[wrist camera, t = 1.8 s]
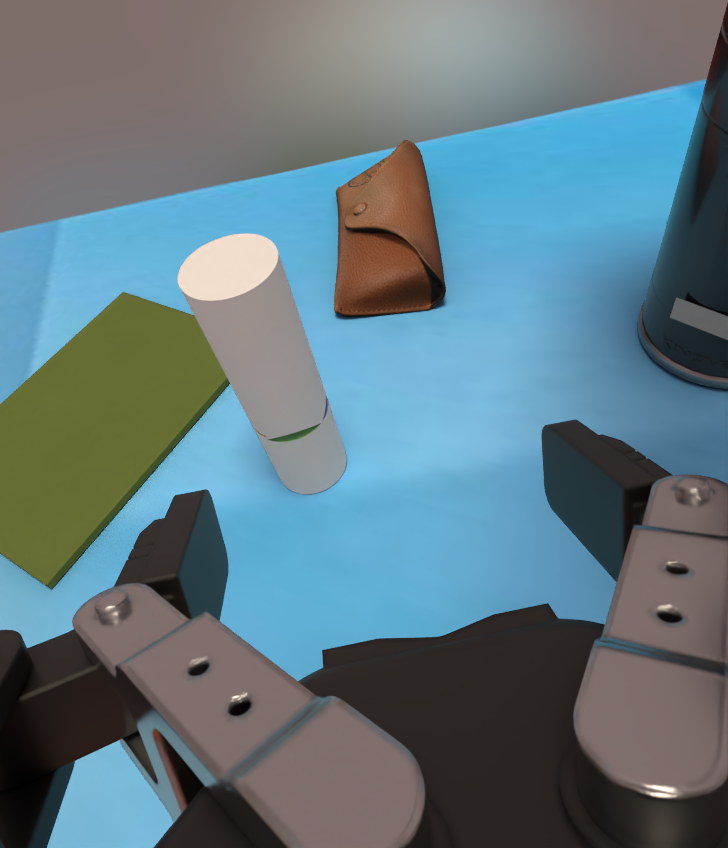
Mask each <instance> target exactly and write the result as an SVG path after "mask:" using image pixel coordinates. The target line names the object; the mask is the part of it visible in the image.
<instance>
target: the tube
mask: <svg viewBox="0 0 728 848" xmlns="http://www.w3.org/2000/svg"><path fill="white" fill-rule="evenodd" d="M178 283H179V287H180V289H181V291H182V293H183V294H184V296H185V298H186V300H187V302H188V304H189V306H190V308H191V310H192V312H193V314H194V315H195V317H196V319H197V321H198V323H199V325H200V327H201V329H202V331H203V333H204V335H205V336H206V338H207V340H208V342H209V344H210V346H211V348H212V350H213V352H214V354H215V356H216V357H217V359H218V361H219V363H220V365H221V367H222V369H223V371H224V373H225V375H226V377H227V378H228V380H229V382H230V384H231V386H232V388H233V390H234V392H235V394H236V396H237V398H238V399H239V401H240V403H241V405H242V407H243V409H244V411H245V413H246V415H247V417H248V419H249V420H250V422H251V424H252V426H253V428H254V430H255V432H256V434H257V436H258V438H259V440H260V441H261V443H262V445H263V447H264V449H265V451H266V453H267V455H268V457H269V459H270V460H271V462H272V464H273V466H274V468H275V470H276V472H277V474H278V476H279V478H280V480H281V481H282V483H283V484H284V485H285V486H286V487H287V488H288V489H290V490H291V491H293V492H296V493H299V494H315V493H319V492H322V491H324V490H327V489H328V488H330V487H331V486H333V485H334V484H335V483H336V482H337V481H338V480H339V479H340V478H341V476H342V475H343V473H344V471H345V468H346V462H347V458H346V453H345V450H344V447H343V444H342V441H341V438H340V435H339V432H338V429H337V426H336V423H335V420H334V417H333V414H332V411H331V408H330V405H329V402H328V399H327V397H326V394H325V390H324V387H323V384H322V381H321V378H320V375H319V372H318V369H317V366H316V363H315V360H314V357H313V354H312V351H311V348H310V345H309V342H308V339H307V336H306V333H305V330H304V328H303V325H302V322H301V319H300V316H299V313H298V310H297V307H296V304H295V301H294V298H293V295H292V292H291V289H290V286H289V283H288V280H287V277H286V274H285V271H284V268H283V265H282V262H281V259H280V256H279V253H278V250H277V248H276V246H275V244H274V243H273V242H272V241H271V240H269V239H267V238H265V237H263V236H260V235H255V234H235V235H229V236H225V237H222V238H219V239H216V240H213V241H211V242H209V243H207V244H205V245H203V246H202V247H200V248H199V249H197V250H196V251H195V252H193V253H192V254H191V255H190V256H189V257H188V258H187V259H186V260H185V262H184V263H183V265H182V266H181V268H180V271H179V273H178Z"/></svg>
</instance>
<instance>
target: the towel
mask: <svg viewBox="0 0 728 848" xmlns="http://www.w3.org/2000/svg"><path fill="white" fill-rule="evenodd" d="M229 383H230V382H229V380H228V378H227V377H226V375H225V373H224V371H223V369H222V367H221V365H220V363H219V361H218V359H217V357H216V356H215V354H214V352H213V350H212V348H211V346H210V344H209V342H208V340H207V338H206V336H205V335H204V333H203V331H202V329H201V327H200V325H199V323H198V321H197V319H196V317H195V316H194V315H191V314H188V313H185V312H182V311H179V310H176V309H173V308H170V307H167V306H164V305H161V304H158V303H155V302H152V301H149V300H146V299H143V298H140V297H137V296H134V295H131V294H128V293H125V292H123V293H122V294H120V295H119V296H118V297H117V298H116V299H115V300H114V301H113V302H112V303H111V304H110V305H108V306H107V307H106V308H105V309H104V310H103V311H102V312H101V313H100V314H99V315H97V316H96V317H95V318H94V319H93V320H92V321H91V322H90V323H89V324H88V325H87V326H85V327H84V328H83V329H82V330H81V331H80V332H79V333H78V334H77V335H76V336H75V337H73V338H72V339H71V340H70V341H69V342H68V343H67V344H66V345H65V346H64V347H63V348H61V349H60V350H59V351H58V352H57V353H56V354H55V355H54V356H53V357H52V358H51V359H49V360H48V361H47V362H46V363H45V364H44V365H43V366H42V367H41V368H40V369H38V370H37V371H36V372H35V373H34V374H33V375H32V376H31V377H30V378H29V379H28V380H26V381H25V382H24V383H23V384H22V385H21V386H20V387H19V388H18V389H17V390H16V391H14V392H13V393H12V394H11V395H10V396H9V397H8V398H7V399H6V400H5V401H4V402H2V403H1V404H0V553H1V554H2V555H3V556H5V557H6V558H8V559H9V560H11V561H12V562H13V563H15V564H16V565H18V566H19V567H20V568H22V569H23V570H25V571H26V572H28V573H29V574H30V575H32V576H33V577H35V578H36V579H38V580H39V581H40V582H42V583H43V584H45V585H46V586H48V587H49V588H51V589H52V588H53V587H54V586H55V585H56V584H57V582H58V581H59V580H60V579H61V578H62V577H63V575H64V574H65V573H66V572H67V571H68V570H69V568H70V567H71V566H72V565H73V564H74V563H75V562H76V560H77V559H78V558H79V557H80V556H81V555H82V553H83V552H84V551H85V550H86V549H87V548H88V547H89V545H90V544H91V543H92V542H93V541H94V540H95V538H96V537H97V536H98V535H99V534H100V533H101V531H102V530H103V529H104V528H105V527H106V526H107V525H108V523H109V522H110V521H111V520H112V519H113V518H114V516H115V515H116V514H117V513H118V512H119V511H120V510H121V508H122V507H123V506H124V505H125V504H126V503H127V501H128V500H129V499H130V498H131V497H132V496H133V494H134V493H135V492H136V491H137V490H138V489H139V488H140V486H141V485H142V484H143V483H144V482H145V481H146V479H147V478H148V477H149V476H150V475H151V474H152V472H153V471H154V470H155V469H156V468H157V467H158V466H159V464H160V463H161V462H162V461H163V460H164V459H165V457H166V456H167V455H168V454H169V453H170V452H171V451H172V449H173V448H174V447H175V446H176V445H177V444H178V442H179V441H180V440H181V439H182V438H183V437H184V435H185V434H186V433H187V432H188V431H189V430H190V429H191V427H192V426H193V425H194V424H195V423H196V422H197V420H198V419H199V418H200V417H201V416H202V415H203V414H204V412H205V411H206V410H207V409H208V408H209V407H210V405H211V404H212V403H213V402H214V401H215V400H216V398H217V397H218V396H219V395H220V394H221V393H222V392H223V390H224V389H225V388H226V387H227V386H228V385H229Z"/></svg>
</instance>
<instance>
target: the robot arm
mask: <svg viewBox="0 0 728 848" xmlns="http://www.w3.org/2000/svg"><path fill="white" fill-rule="evenodd" d="M638 335H639V338H640V341H641V343H642V345H643V347H644V349H645V350H646V352H647V353H648V354H649V355H650V356H651V357H652V358H653V360H655V361H656V362H657V363H658V364H659V365H660V366H662V367H663V368H665V369H666V370H668V371H669V372H671V373H673V374H675V375H677V376H678V377H681V378H683V379H685V380H688V381H691V382H693V383H697V384H700V385H704V386H708V387H714V388H720V389H728V4H727V8H726V12H725V15H724V18H723V22H722V27H721V30H720V33H719V37H718V40H717V44H716V48H715V51H714V55H713V59H712V62H711V66H710V70H709V73H708V77H707V80H706V84H705V87H704V91H703V96H702V99H701V103H700V107H699V110H698V114H697V117H696V121H695V125H694V128H693V132H692V135H691V139H690V143H689V146H688V150H687V153H686V157H685V161H684V164H683V168H682V171H681V175H680V179H679V182H678V186H677V189H676V193H675V197H674V200H673V204H672V207H671V211H670V215H669V218H668V222H667V225H666V229H665V233H664V236H663V240H662V243H661V247H660V251H659V254H658V258H657V261H656V265H655V268H654V271H653V275H652V278H651V282H650V286H649V289H648V293H647V296H646V300H645V301H644V303H643V305H642V308H641V312H640V315H639V319H638ZM542 452H543V470H544V487H545V493H546V496H547V500H548V502H549V505H550V507H551V508H552V510H553V511H554V512H555V513H556V515H557V516H558V517H559V518H560V519H561V520H562V521H563V522H564V524H565V525H566V526H567V527H568V528H569V529H570V530H571V531H572V533H573V534H574V535H575V536H576V537H577V538H578V539H579V540H580V542H581V543H582V544H583V545H584V546H585V547H586V548H587V549H588V551H589V552H590V553H591V554H592V555H593V556H594V557H595V558H596V560H597V561H598V562H599V563H600V564H601V565H602V566H603V567H604V569H605V570H606V571H607V572H608V573H609V574H610V575H611V576H612V578H613V579H614V580H615V581H616V582H617V584H616V588H615V591H614V595H613V598H612V602H611V605H610V609H609V612H608V616H607V619H606V623H605V625H604V624H600V623H596V622H590V621H584V620H574V619H558V618H557V616H556V615H555V613H554V612H553V610H552V609H551V607H550V606H549V604H548V603H547V604H543V605H538V606H533V607H528V608H523V609H518V610H514V611H509V612H504V613H499V614H494V615H492V616H489V617H487V618H484V619H482V620H480V621H477V622H475V623H473V624H470V625H468V626H465V627H463V628H461V629H458V630H456V631H454V632H451V633H449V634H446V635H444V636H440V637H426V638H383V639H374V640H370V641H365V642H360V643H355V644H350V645H346V646H341V647H336V648H331V649H326V650H322V653H323V668H322V669H320V670H318V671H315V672H313V673H312V674H310V675H308V676H306V677H304V678H302V679H301V680H299V681H296V680H295V679H294V678H293V677H291V676H290V675H289V674H287V673H286V672H285V671H283V670H282V669H281V668H280V667H278V666H277V665H276V664H274V663H273V662H272V661H270V660H269V659H268V658H267V657H265V656H264V655H263V654H261V653H260V652H259V651H257V650H256V649H255V648H254V647H252V646H251V645H250V644H248V643H247V642H246V641H244V640H243V639H242V638H241V637H239V636H238V635H237V634H235V633H234V632H233V631H231V630H230V629H229V628H228V627H226V626H225V625H224V624H222V623H221V622H220V616H221V610H222V605H223V599H224V594H225V588H226V583H227V577H228V558H227V552H226V548H225V544H224V540H223V537H222V533H221V529H220V526H219V522H218V518H217V515H216V511H215V508H214V504H213V501H212V497H211V495H210V493H209V491H208V490H201V491H196V492H191V493H185V494H180V495H175V496H174V498H173V500H172V502H171V504H170V507H169V509H168V511H167V514H166V516H165V518H163V519H158V520H154V521H153V522H152V523H151V524H150V525H149V526H148V527H146V528H145V529H144V530H143V531H142V532H141V533H140V534H139V536H138V538H137V540H136V542H135V545H134V549H132V551H131V553H130V555H129V557H128V559H129V560H127V561H126V563H125V565H124V567H123V569H122V571H121V573H120V575H119V577H118V579H117V581H116V584H115V586H114V587H113V588H110V589H107V590H105V591H103V592H101V593H99V594H97V595H96V596H94V597H92V598H91V599H89V600H88V601H87V602H86V603H84V604H83V605H82V606H81V607H80V608H79V609H78V611H77V612H76V613H75V615H74V617H73V621H72V623H73V627H74V630H72V631H70V632H68V633H65V634H63V635H61V636H58V637H55V638H53V639H50V640H48V641H45V642H43V643H40V644H37V645H35V646H32V647H30V648H26V645H25V643H24V641H23V639H22V636H21V635H20V634H19V633H18V632H16V631H13V630H0V848H47V845H48V842H49V839H50V836H51V833H52V830H53V827H54V824H55V821H56V818H57V815H58V812H59V809H60V806H61V803H62V800H63V797H64V795H65V792H66V789H67V786H68V783H69V780H70V777H71V774H72V771H73V767H74V763H75V760H77V759H80V758H82V757H84V756H86V755H88V754H90V753H92V752H94V751H97V750H99V749H101V748H103V747H105V746H107V745H109V744H112V743H114V742H116V741H118V740H119V741H120V744H121V746H122V747H123V749H124V750H125V752H126V753H127V754H128V756H129V757H130V759H131V760H132V761H133V763H134V764H135V766H136V767H137V768H138V770H139V771H140V772H141V774H142V775H143V777H144V778H145V779H146V781H147V782H148V784H149V785H150V786H151V788H152V789H153V791H154V792H155V793H156V795H157V796H158V798H159V799H160V800H161V802H162V803H163V805H164V806H165V808H166V809H167V811H168V813H169V815H170V816H171V818H172V820H173V822H174V823H173V824H172V826H171V827H170V828H169V829H168V831H167V832H166V833H165V834H164V836H163V837H162V838H161V839H160V840H159V842H158V843H157V844H156V845H155V847H154V848H728V485H727V484H726V483H724V482H722V481H720V480H717V479H714V478H710V477H706V476H700V475H672V474H670V473H669V472H667V471H666V470H664V469H663V468H661V467H660V466H658V465H657V464H656V463H654V462H653V461H651V460H650V459H646V457H645V456H644V455H642V454H641V453H639V452H638V451H637V452H635V449H633V448H632V447H630V446H629V445H627V444H626V443H624V442H623V441H621V440H618V439H615V438H612V437H608V436H605V435H597V434H596V433H595V432H593V431H592V430H590V429H589V428H588V427H586V426H585V425H583V424H582V423H581V422H579V421H578V420H571V421H565V422H560V423H555V424H550V425H545V426H544V427H543V430H542Z"/></svg>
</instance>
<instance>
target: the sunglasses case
mask: <svg viewBox="0 0 728 848" xmlns="http://www.w3.org/2000/svg"><path fill="white" fill-rule="evenodd" d="M336 196H337V204H338V220H339V221H338V233H339V234H338V266H337V276H336V287H335V296H334V311H335V312H336V313H338V314H341V315H344V316H375V315H388V314H398V313H407V312H417V311H423V310H429V309H431V308H433V307H434V306H436V305H437V304H439V302H440V301H441V300H442V299H443V297H444V296H445V292H446V287H445V282H444V274H443V266H442V261H441V253H440V247H439V241H438V235H437V230H436V225H435V219H434V214H433V208H432V203H431V197H430V191H429V186H428V180H427V175H426V171H425V166H424V162H423V159H422V155H421V153H420V150H419V149H418V148H417V146H416V145H415V144H414V143H412V142H410V141H408V140H404V141H403V142H402V143H401V144H400V145H399V146H398V147H397V148H396V149H395V151H393V153H392V154H391V155H389V156H388V157H386V158H385V159H383V160H381V161H380V162H378V163H377V164H375V165H374V166H372V167H371V168H369V169H367V170H366V171H364V172H363V173H361V174H360V175H358V176H356V177H355V178H353V179H352V180H350V181H349V182H348V183H346V184H344V185H343V186H341V187H338V188H337V190H336Z"/></svg>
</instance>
